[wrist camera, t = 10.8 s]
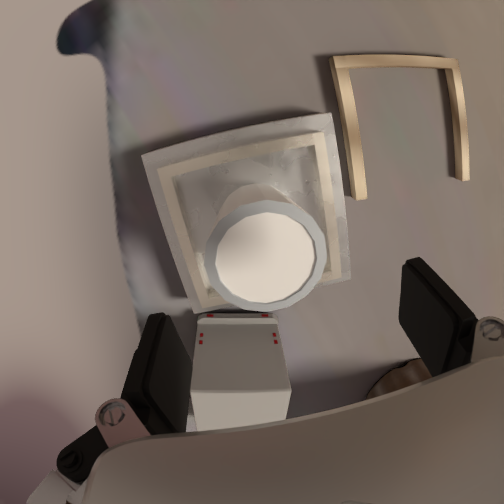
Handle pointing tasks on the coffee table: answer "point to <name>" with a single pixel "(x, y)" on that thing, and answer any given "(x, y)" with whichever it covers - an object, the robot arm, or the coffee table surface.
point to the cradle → (349, 115)
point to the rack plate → (244, 173)
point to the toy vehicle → (238, 371)
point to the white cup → (264, 250)
